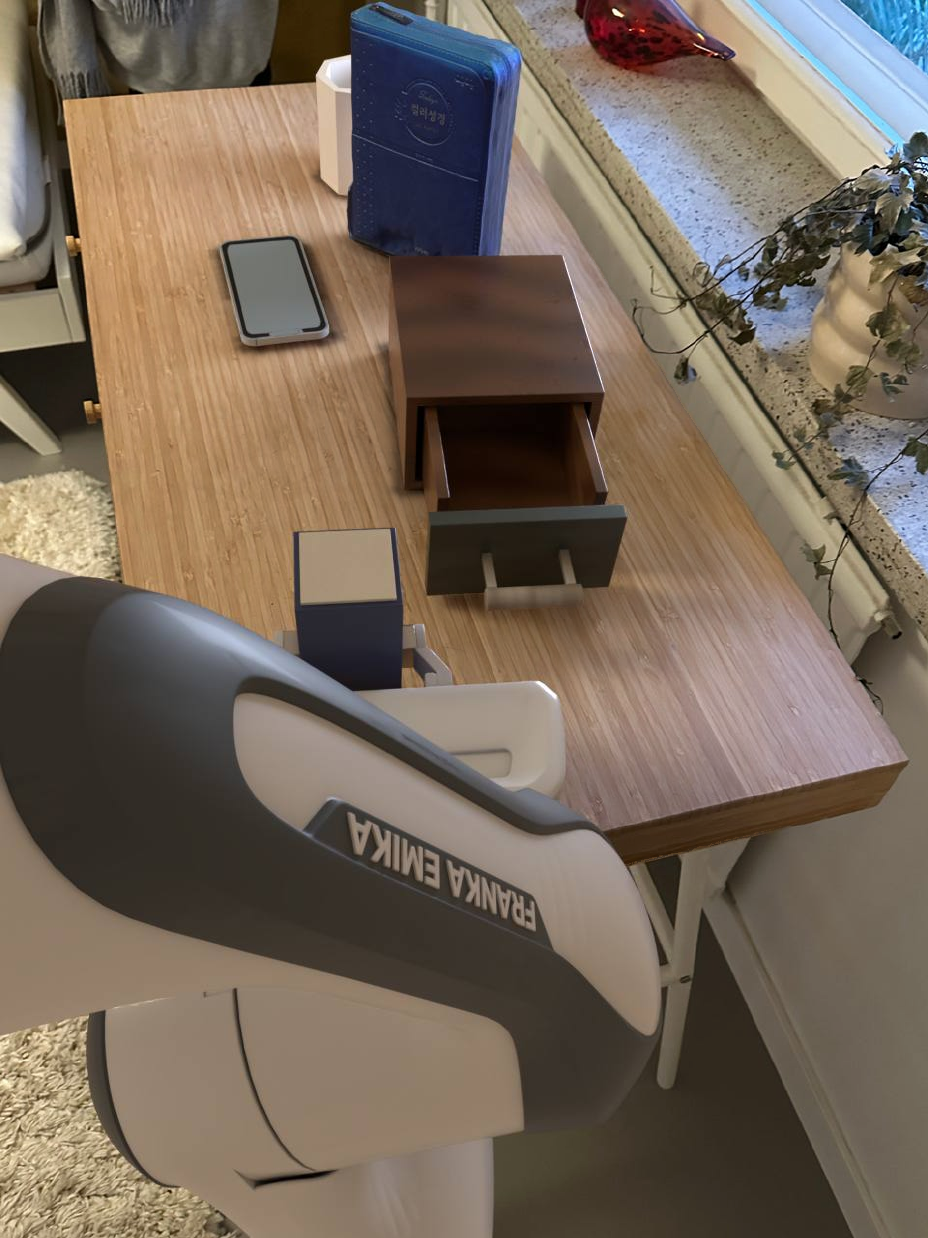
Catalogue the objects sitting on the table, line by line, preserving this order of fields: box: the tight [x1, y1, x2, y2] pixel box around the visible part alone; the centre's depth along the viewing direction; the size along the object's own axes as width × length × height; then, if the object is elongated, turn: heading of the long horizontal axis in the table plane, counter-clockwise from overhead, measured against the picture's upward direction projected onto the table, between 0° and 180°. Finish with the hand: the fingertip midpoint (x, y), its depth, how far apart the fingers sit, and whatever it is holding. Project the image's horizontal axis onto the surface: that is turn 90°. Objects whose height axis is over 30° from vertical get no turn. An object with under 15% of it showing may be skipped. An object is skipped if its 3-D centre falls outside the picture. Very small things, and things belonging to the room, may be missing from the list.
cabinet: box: [387, 254, 606, 491], centre depth 77 cm, size 17×14×9 cm
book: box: [346, 1, 523, 257], centre depth 85 cm, size 14×5×20 cm, turn 60°
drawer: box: [417, 402, 628, 612], centre depth 69 cm, size 20×12×7 cm, turn 7°
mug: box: [315, 54, 353, 197], centre depth 96 cm, size 12×9×10 cm
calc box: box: [292, 526, 404, 691], centre depth 54 cm, size 5×5×16 cm
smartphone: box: [218, 234, 330, 347], centre depth 88 cm, size 7×1×15 cm
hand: (350, 633), depth 54 cm, fingers closed on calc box, 5 cm apart
